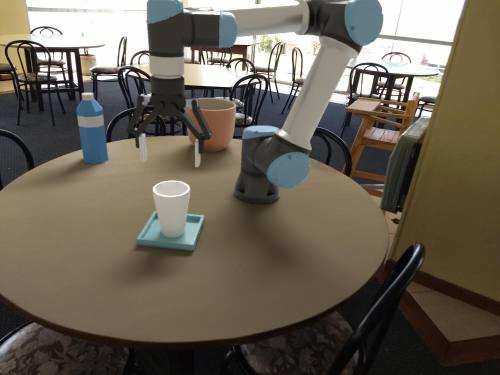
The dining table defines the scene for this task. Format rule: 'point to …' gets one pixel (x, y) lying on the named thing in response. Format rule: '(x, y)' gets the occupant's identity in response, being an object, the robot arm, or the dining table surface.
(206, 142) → the planter
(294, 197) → the dining table surface
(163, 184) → the foam cup
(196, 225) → the tray
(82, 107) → the water bottle
